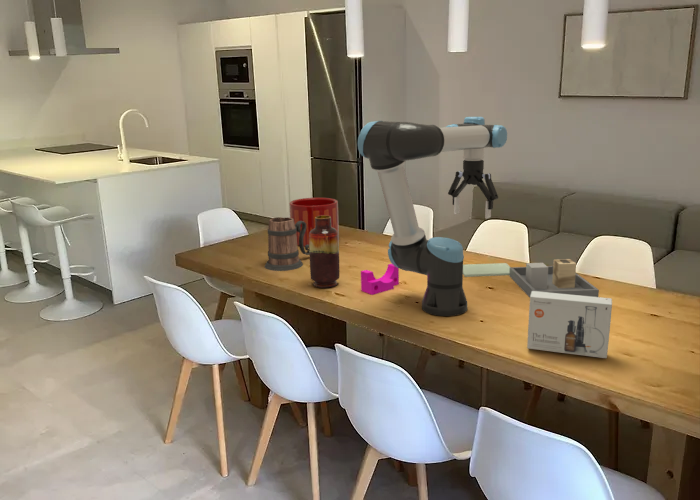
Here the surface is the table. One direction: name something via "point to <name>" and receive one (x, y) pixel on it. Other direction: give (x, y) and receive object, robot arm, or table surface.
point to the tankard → (285, 244)
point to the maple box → (564, 273)
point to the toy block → (379, 280)
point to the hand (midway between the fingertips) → (472, 215)
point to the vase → (324, 253)
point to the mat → (486, 269)
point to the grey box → (537, 275)
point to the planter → (313, 213)
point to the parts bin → (580, 284)
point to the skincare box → (569, 323)
